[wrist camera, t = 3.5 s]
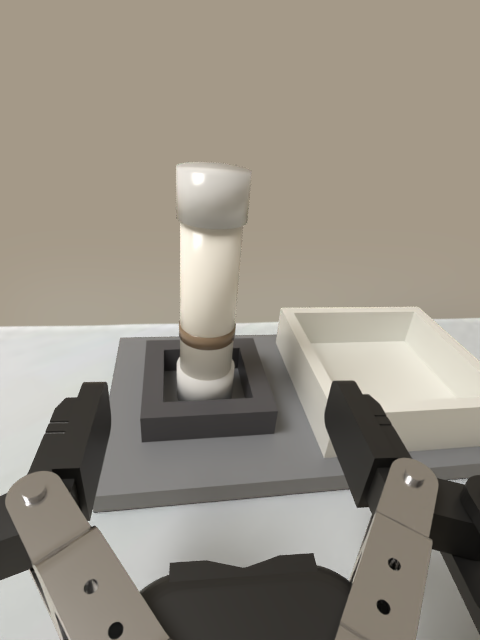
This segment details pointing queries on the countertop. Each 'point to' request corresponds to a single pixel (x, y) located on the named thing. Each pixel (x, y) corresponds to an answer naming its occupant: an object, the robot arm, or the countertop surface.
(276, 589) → the robot arm
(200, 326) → the white capped peg
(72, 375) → the countertop surface
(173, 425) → the grey board with tray
